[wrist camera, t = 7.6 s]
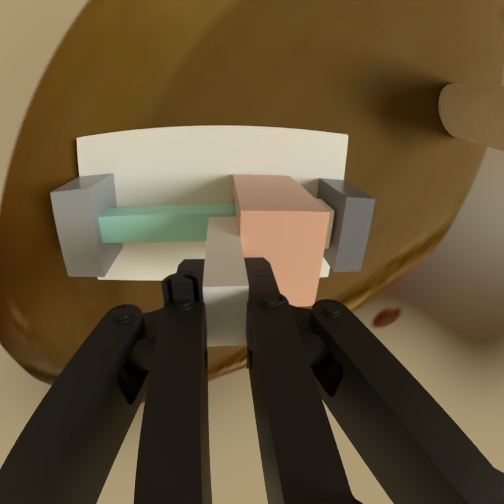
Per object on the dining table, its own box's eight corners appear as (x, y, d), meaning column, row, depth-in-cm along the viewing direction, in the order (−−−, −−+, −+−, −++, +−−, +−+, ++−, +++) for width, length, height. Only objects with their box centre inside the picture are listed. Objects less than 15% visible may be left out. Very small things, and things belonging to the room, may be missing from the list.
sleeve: (232, 174, 19) (240, 210, 12) (289, 176, 19) (329, 212, 12) (231, 243, 21) (238, 309, 14) (284, 242, 22) (314, 305, 15)
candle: (445, 144, 20) (527, 172, 11) (430, 88, 18) (518, 95, 9) (476, 130, 19) (551, 153, 11) (463, 79, 17) (542, 87, 8)
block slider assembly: (81, 136, 17) (40, 147, 12) (343, 134, 19) (383, 142, 14) (100, 274, 22) (76, 315, 17) (324, 272, 25) (349, 312, 20)
